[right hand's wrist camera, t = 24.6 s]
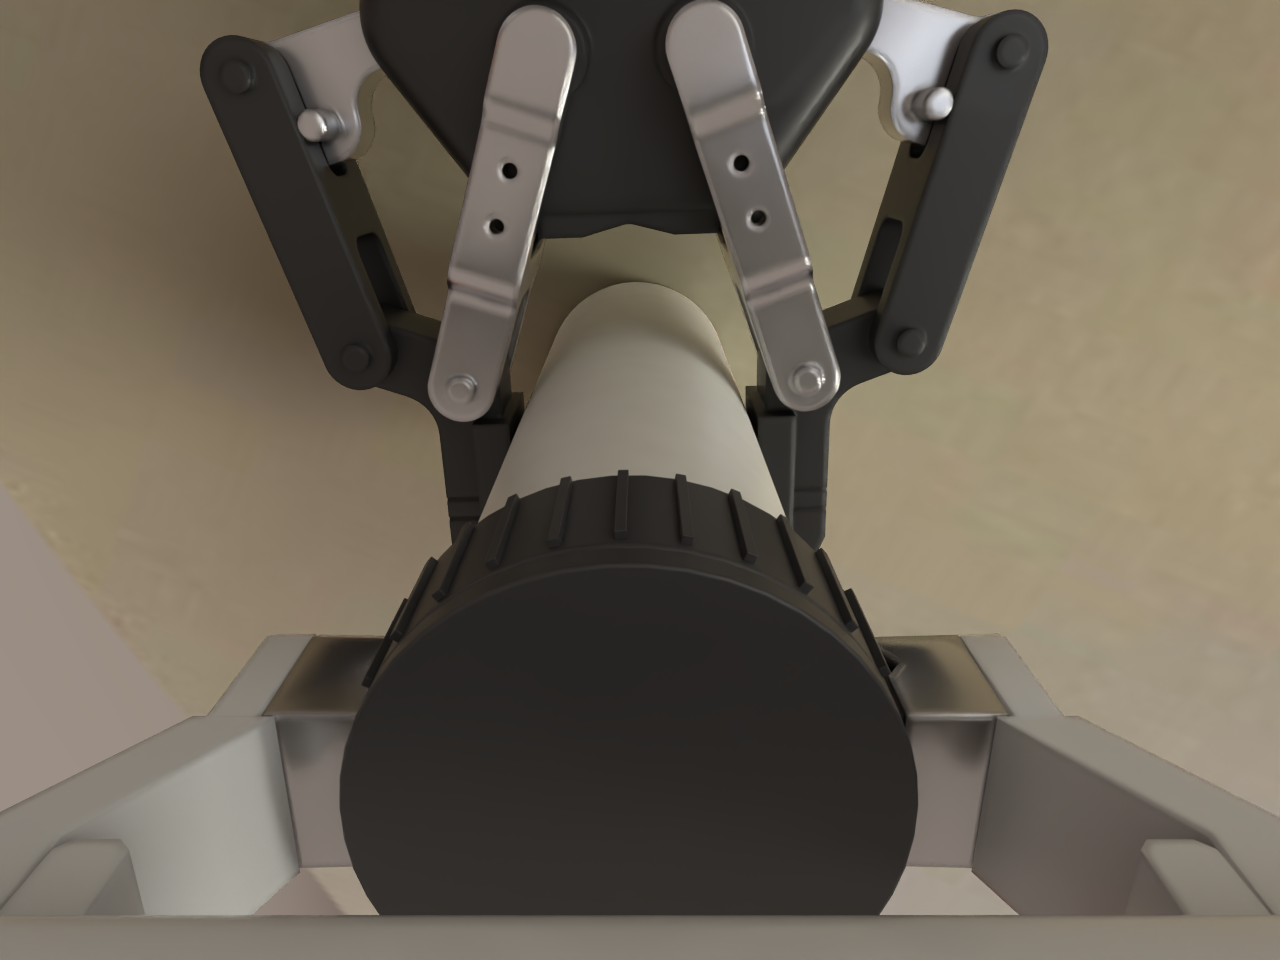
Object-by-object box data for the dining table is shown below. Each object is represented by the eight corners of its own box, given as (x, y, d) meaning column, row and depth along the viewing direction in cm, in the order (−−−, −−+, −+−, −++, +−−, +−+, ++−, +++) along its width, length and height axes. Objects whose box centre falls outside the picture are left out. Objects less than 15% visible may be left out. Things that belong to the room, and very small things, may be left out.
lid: (415, 421, 9) (354, 501, 7) (934, 515, 10) (1012, 617, 8) (369, 841, 11) (308, 996, 9) (803, 907, 11) (837, 1070, 9)
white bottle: (521, 403, 25) (331, 832, 10) (599, 248, 23) (522, 466, 8) (671, 479, 25) (714, 985, 10) (756, 334, 24) (952, 677, 9)
